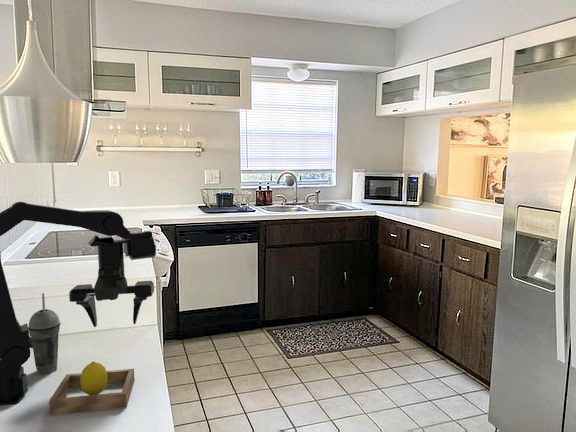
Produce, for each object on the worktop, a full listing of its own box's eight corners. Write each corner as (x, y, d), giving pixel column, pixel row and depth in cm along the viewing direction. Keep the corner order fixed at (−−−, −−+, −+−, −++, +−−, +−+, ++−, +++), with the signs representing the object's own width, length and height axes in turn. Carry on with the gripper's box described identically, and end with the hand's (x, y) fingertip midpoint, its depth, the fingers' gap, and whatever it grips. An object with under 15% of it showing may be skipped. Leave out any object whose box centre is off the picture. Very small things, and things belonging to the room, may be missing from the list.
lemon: (82, 393, 104) (80, 359, 103) (108, 389, 106) (106, 355, 105) (80, 404, 99) (78, 368, 98) (108, 400, 101) (106, 364, 100)
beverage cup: (60, 362, 122) (56, 287, 120) (65, 371, 116) (61, 293, 114) (28, 369, 118) (24, 291, 116) (32, 379, 112) (27, 298, 110)
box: (49, 415, 95) (48, 401, 95) (67, 386, 108) (66, 374, 107) (126, 407, 98) (125, 393, 97) (134, 380, 110) (134, 368, 110)
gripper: (59, 271, 103) (64, 340, 104) (146, 267, 106) (150, 333, 107) (74, 262, 114) (78, 324, 115) (152, 258, 117) (156, 318, 118)
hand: (115, 325), depth 114 cm, fingers open, 9 cm apart
